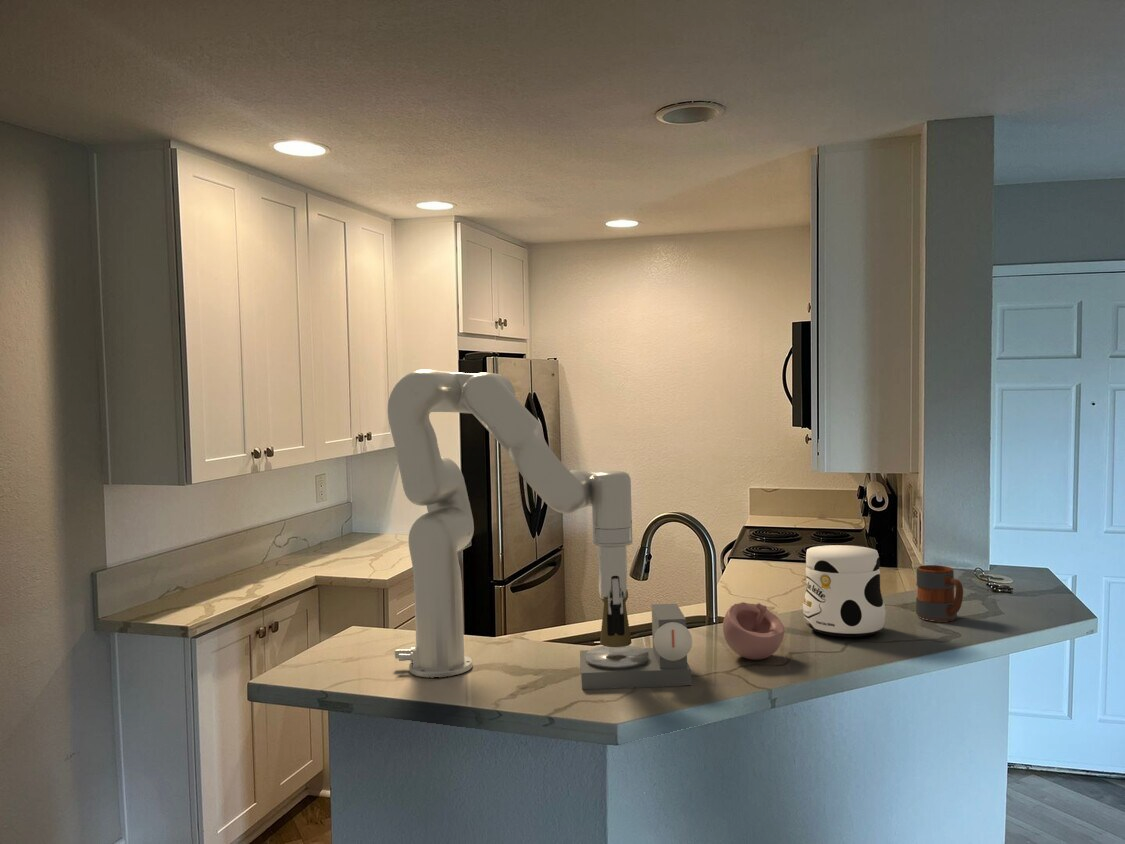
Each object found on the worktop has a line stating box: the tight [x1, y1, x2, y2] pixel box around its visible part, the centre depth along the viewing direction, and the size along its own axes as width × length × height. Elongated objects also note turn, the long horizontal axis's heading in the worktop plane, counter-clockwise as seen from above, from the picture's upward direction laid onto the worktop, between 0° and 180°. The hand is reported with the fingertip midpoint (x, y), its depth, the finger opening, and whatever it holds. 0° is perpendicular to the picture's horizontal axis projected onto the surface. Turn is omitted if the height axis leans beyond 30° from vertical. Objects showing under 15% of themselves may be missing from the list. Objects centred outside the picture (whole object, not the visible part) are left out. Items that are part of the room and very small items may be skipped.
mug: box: [915, 564, 964, 622], centre depth 187 cm, size 9×12×12 cm
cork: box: [599, 590, 632, 647], centre depth 155 cm, size 6×6×11 cm
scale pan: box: [586, 645, 649, 669], centre depth 155 cm, size 12×12×1 cm
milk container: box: [802, 544, 887, 638], centre depth 180 cm, size 17×17×18 cm
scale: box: [579, 603, 693, 690], centre depth 155 cm, size 20×14×12 cm
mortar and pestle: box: [722, 601, 786, 661], centre depth 163 cm, size 12×12×12 cm
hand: (615, 630), depth 155 cm, fingers closed on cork, 4 cm apart
